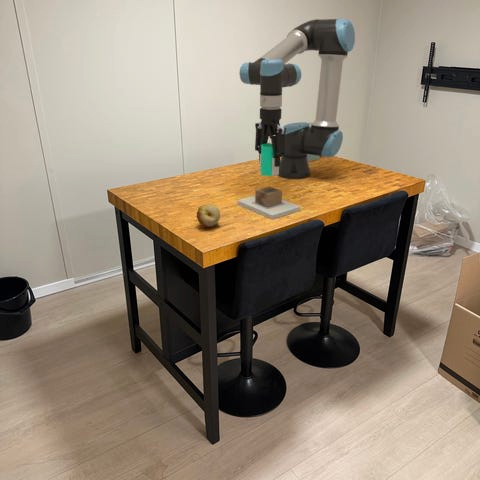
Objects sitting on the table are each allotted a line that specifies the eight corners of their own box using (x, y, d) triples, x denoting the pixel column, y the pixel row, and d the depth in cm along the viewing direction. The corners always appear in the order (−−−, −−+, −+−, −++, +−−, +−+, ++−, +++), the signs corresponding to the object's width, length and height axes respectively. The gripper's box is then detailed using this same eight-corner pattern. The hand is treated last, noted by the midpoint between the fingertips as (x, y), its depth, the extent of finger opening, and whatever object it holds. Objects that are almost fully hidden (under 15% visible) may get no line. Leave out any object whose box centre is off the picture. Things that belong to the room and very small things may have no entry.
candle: (259, 171, 171) (260, 139, 166) (275, 171, 171) (276, 138, 166) (261, 176, 166) (262, 143, 161) (278, 175, 166) (279, 142, 161)
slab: (237, 204, 177) (237, 200, 177) (264, 196, 185) (264, 192, 184) (272, 219, 163) (272, 215, 162) (300, 210, 171) (300, 206, 170)
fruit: (193, 229, 155) (192, 207, 152) (204, 220, 162) (203, 199, 159) (214, 232, 153) (213, 210, 149) (224, 223, 160) (223, 201, 156)
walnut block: (255, 202, 174) (255, 190, 172) (269, 198, 178) (269, 186, 176) (267, 207, 169) (267, 194, 167) (281, 203, 173) (282, 190, 171)
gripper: (244, 105, 163) (244, 169, 173) (281, 112, 150) (279, 180, 160) (260, 103, 168) (259, 165, 177) (298, 109, 154) (294, 176, 164)
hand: (269, 172), depth 168 cm, fingers closed on candle, 6 cm apart
